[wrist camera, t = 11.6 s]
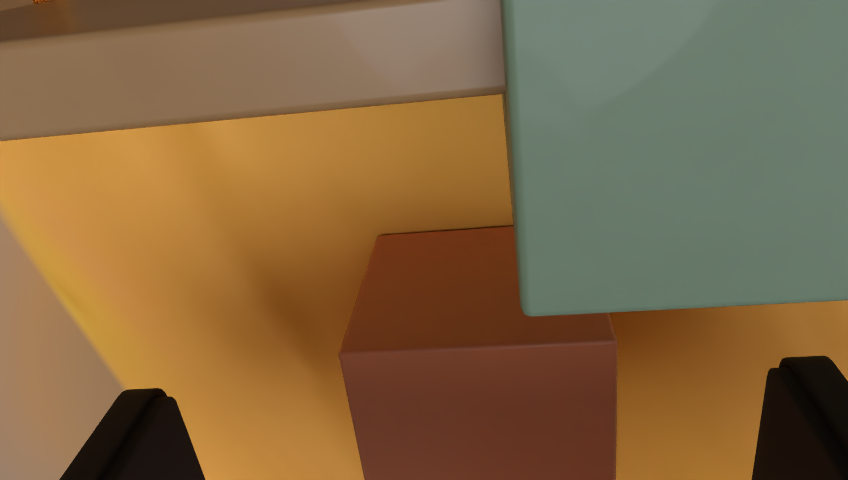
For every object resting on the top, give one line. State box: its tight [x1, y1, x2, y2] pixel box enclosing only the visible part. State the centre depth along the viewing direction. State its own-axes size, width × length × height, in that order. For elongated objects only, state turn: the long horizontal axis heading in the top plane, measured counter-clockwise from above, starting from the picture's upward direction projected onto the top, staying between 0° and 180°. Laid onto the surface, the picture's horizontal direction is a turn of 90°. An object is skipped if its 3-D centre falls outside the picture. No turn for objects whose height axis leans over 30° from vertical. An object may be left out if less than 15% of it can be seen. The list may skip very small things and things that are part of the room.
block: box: [339, 226, 618, 480], centre depth 13 cm, size 4×4×4 cm
